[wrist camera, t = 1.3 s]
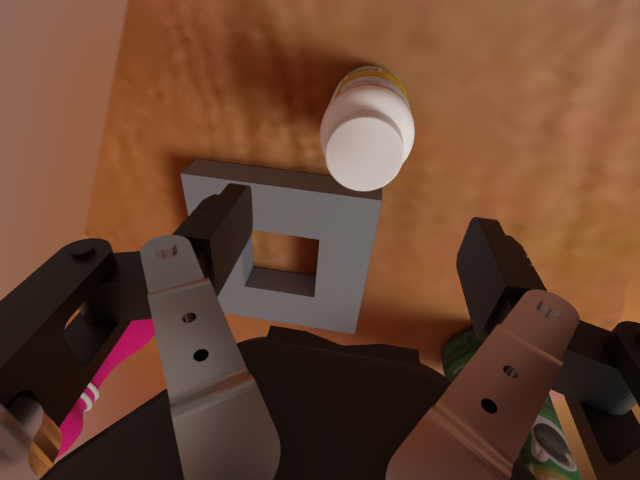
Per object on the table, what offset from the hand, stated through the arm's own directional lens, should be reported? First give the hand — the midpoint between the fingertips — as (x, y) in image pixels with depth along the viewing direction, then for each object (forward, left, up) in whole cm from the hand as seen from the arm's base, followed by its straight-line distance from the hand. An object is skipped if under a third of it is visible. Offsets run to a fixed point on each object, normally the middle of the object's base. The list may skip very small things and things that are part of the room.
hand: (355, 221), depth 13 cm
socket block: (+14, -6, -16) cm, 22 cm away
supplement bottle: (0, 0, -16) cm, 16 cm away
